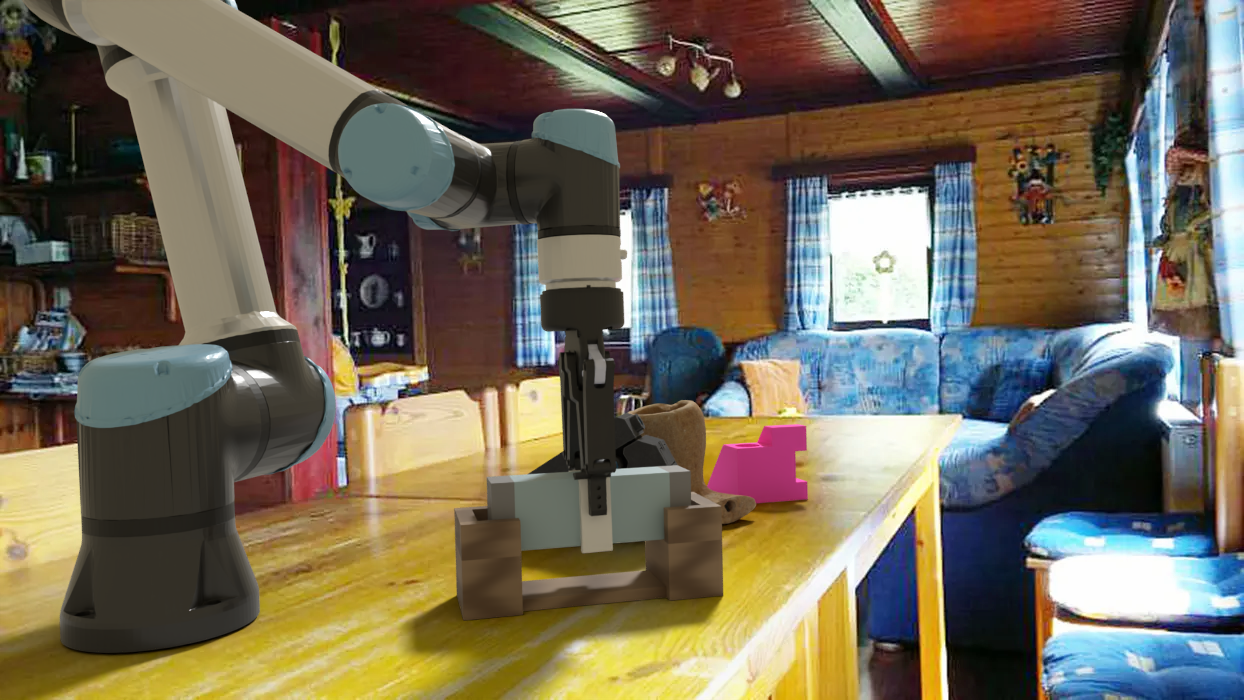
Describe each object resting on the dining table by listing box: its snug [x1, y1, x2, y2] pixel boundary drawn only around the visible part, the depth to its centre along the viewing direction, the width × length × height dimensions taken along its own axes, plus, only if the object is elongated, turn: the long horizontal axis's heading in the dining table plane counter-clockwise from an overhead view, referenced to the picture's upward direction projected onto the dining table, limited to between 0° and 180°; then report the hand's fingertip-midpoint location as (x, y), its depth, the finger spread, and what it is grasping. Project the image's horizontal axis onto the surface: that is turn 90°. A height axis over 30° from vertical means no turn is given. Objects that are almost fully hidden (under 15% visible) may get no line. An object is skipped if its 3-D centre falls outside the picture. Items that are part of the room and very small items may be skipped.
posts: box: [453, 492, 724, 621], centre depth 85 cm, size 23×8×8 cm, turn 104°
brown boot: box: [627, 399, 757, 525], centre depth 118 cm, size 15×12×15 cm
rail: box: [486, 465, 691, 552], centre depth 85 cm, size 18×4×6 cm, turn 104°
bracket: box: [706, 423, 809, 504], centre depth 135 cm, size 12×10×10 cm
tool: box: [528, 412, 677, 474], centre depth 107 cm, size 6×19×15 cm, turn 79°
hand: (591, 544), depth 85 cm, fingers closed on rail, 4 cm apart
